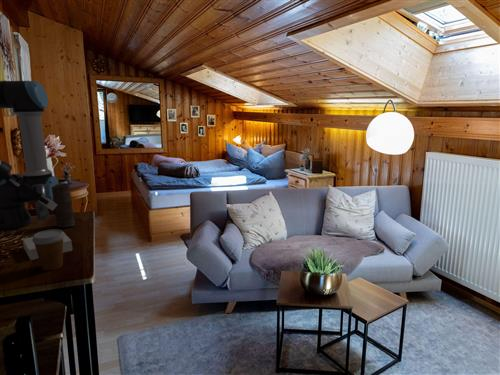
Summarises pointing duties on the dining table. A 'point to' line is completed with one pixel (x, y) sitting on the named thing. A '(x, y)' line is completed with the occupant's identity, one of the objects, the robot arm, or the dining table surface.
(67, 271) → the dining table surface
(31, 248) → the hole block
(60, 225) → the candle
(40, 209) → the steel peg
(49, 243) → the disposable coffee cup
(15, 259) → the dining table surface
